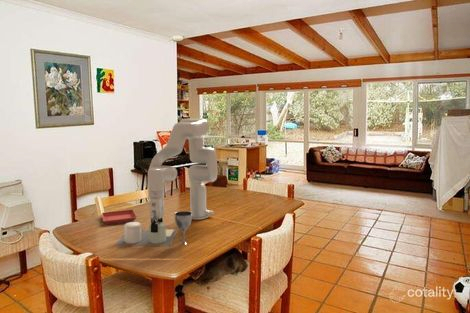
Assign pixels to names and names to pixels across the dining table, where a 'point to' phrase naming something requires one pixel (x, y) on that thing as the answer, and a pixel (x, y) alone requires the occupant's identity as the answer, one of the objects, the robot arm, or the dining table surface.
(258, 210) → the dining table surface
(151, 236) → the sage cup
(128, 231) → the white cup
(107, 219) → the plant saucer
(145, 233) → the mat
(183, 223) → the wine glass
